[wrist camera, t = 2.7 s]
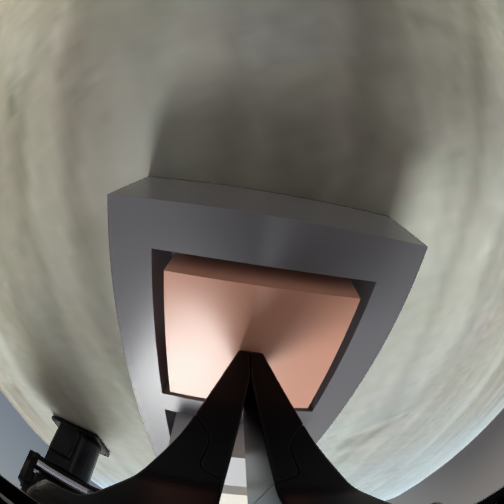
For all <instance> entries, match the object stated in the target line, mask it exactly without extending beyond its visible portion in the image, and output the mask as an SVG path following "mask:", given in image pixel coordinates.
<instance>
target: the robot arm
mask: <svg viewBox="0 0 504 504" xmlns="http://www.w3.org/2000/svg"><path fill="white" fill-rule="evenodd" d="M242 412H243V423H244V445H245V465H246V484H247V501H248V504H391V503H388V502H386V501H383V500H380V499H378V498H375V497H373V496H371V495H368V494H366V493H364V492H361V491H359V490H358V489H356V488H354V487H353V486H352V485H351V484H349V483H348V482H347V481H346V480H345V478H344V477H343V476H342V475H341V474H340V473H339V472H338V470H337V469H336V468H335V467H334V466H333V465H332V463H331V462H330V461H329V460H328V459H327V458H326V456H325V455H324V454H323V453H322V451H321V450H320V449H319V447H318V446H317V445H316V443H315V442H314V440H313V439H312V437H311V436H310V434H309V433H308V431H307V429H306V428H305V426H304V425H303V423H302V421H301V419H300V418H299V416H298V414H297V413H296V411H295V409H294V407H293V406H292V404H291V402H290V401H289V399H288V397H287V395H286V394H285V392H284V390H283V388H282V387H281V385H280V383H279V381H278V380H277V378H276V376H275V374H274V372H273V371H272V369H271V367H270V365H269V364H268V362H267V360H266V358H265V356H264V355H263V353H260V352H251V353H250V352H249V351H244V350H239V351H238V352H237V353H236V355H235V356H234V358H233V360H232V361H231V363H230V364H229V366H228V367H227V369H226V370H225V372H224V373H223V375H222V376H221V378H220V379H219V380H218V382H217V383H216V385H215V386H214V388H213V389H212V391H211V392H210V394H209V395H208V397H207V398H206V399H205V401H204V402H203V404H202V405H201V407H200V408H199V409H198V411H197V412H196V414H195V415H194V416H193V418H192V419H191V421H190V422H189V423H188V425H187V426H186V427H185V428H184V430H183V431H182V432H181V433H180V435H179V436H178V437H177V438H176V439H175V440H174V441H173V442H172V443H171V444H170V445H169V446H168V447H167V448H166V449H165V450H164V451H163V452H162V453H161V454H160V455H159V456H158V457H157V458H155V459H154V460H153V461H152V462H151V463H150V464H149V465H148V466H147V467H146V468H144V469H143V470H142V471H140V472H139V473H138V474H136V475H134V476H133V477H131V478H128V479H126V480H124V481H121V482H119V483H117V484H114V485H112V486H109V487H107V488H104V489H102V490H100V489H98V488H95V487H93V486H91V485H89V482H90V479H91V476H92V473H93V470H94V468H95V465H96V462H97V459H98V457H99V454H102V455H104V456H107V457H109V455H110V454H109V453H108V451H107V450H106V448H105V447H104V446H103V444H102V443H101V441H100V440H99V439H98V437H97V436H96V435H94V434H92V433H90V432H87V431H85V430H83V429H80V428H78V427H76V426H74V425H72V424H70V423H68V422H65V421H63V420H61V419H59V418H57V417H56V416H52V420H53V421H54V422H55V424H56V425H57V426H58V429H57V431H56V433H55V435H54V437H53V439H52V441H51V444H50V446H49V449H48V452H47V454H46V456H45V458H43V457H42V456H40V454H39V453H37V452H34V451H32V450H30V452H29V454H28V456H27V458H26V461H25V463H24V465H23V467H22V469H21V472H20V474H19V476H18V479H19V481H20V483H21V484H20V486H21V489H19V488H18V487H16V486H15V485H13V484H12V483H11V482H9V481H8V480H7V479H6V478H4V477H3V476H2V475H1V474H0V504H219V502H220V498H221V494H222V491H223V487H224V483H225V479H226V476H227V472H228V468H229V464H230V460H231V456H232V452H233V448H234V445H235V441H236V437H237V433H238V428H239V424H240V420H241V416H242ZM37 462H39V463H40V464H42V465H43V466H45V467H46V468H48V469H49V470H51V471H52V472H54V473H56V474H58V475H59V476H61V477H62V478H64V479H66V480H67V481H69V482H71V483H73V484H75V485H76V486H78V487H81V488H82V489H84V490H86V491H88V492H87V494H86V493H84V492H82V491H80V490H78V489H76V488H74V487H72V486H71V485H69V484H67V483H65V482H63V481H62V480H60V479H59V478H57V477H55V476H54V475H52V474H50V473H49V472H47V471H46V470H44V469H43V468H41V467H40V466H38V465H37ZM33 471H35V472H36V473H34V472H33ZM431 504H442V503H440V502H434V503H431ZM475 504H504V486H502V487H501V488H499V489H498V490H496V491H495V492H493V493H492V494H490V495H488V496H487V497H485V498H483V499H482V500H480V501H478V502H477V503H475Z"/></svg>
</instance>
